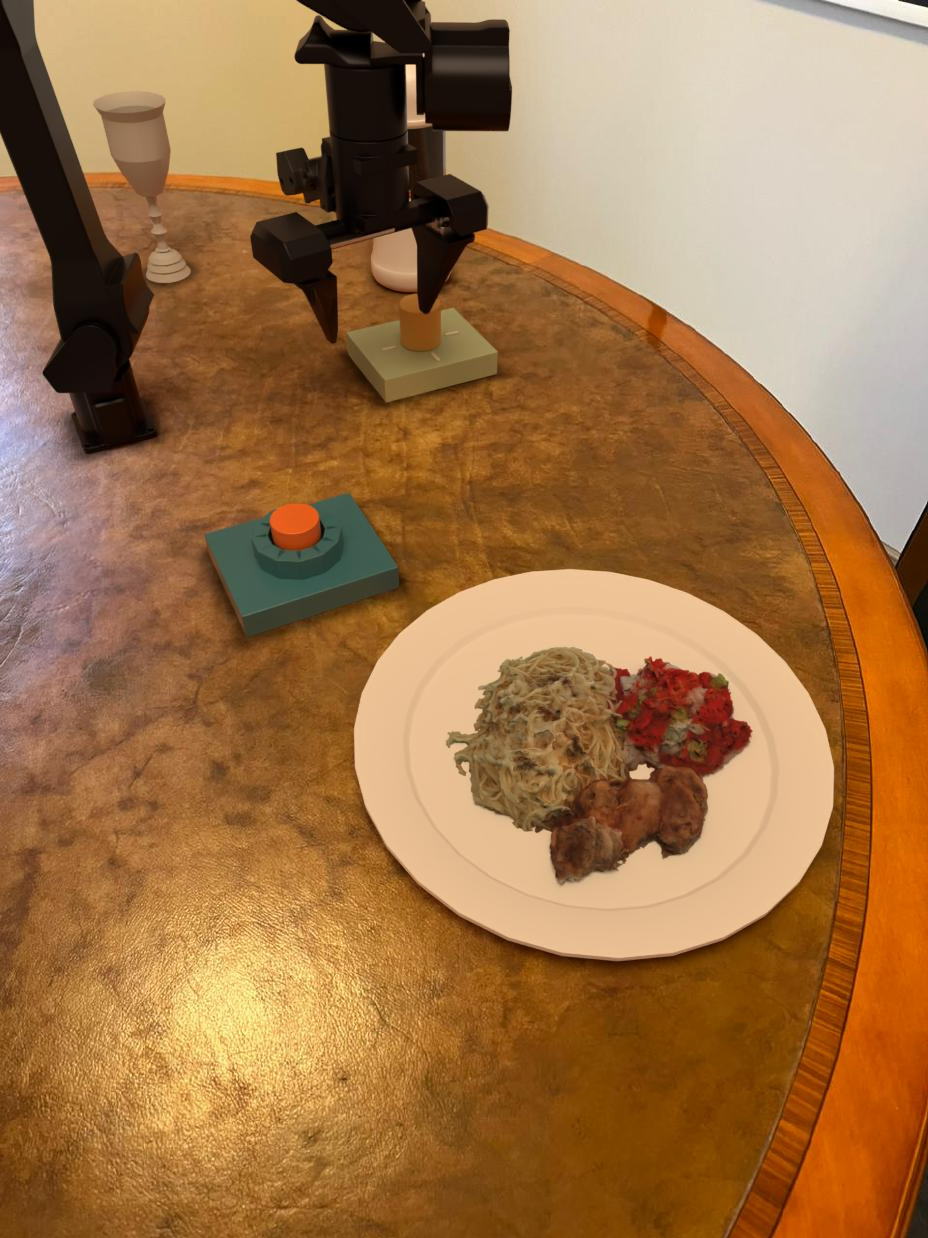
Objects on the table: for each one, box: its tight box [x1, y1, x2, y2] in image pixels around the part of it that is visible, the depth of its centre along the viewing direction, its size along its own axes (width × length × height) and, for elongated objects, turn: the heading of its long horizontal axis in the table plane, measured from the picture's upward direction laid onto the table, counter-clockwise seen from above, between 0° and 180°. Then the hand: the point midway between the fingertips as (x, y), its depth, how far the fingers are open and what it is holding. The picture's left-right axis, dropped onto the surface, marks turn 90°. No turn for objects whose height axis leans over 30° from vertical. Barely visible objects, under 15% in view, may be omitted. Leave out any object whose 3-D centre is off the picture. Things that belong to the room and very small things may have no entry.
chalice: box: [92, 90, 192, 284], centre depth 101 cm, size 7×7×18 cm
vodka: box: [370, 53, 453, 293], centre depth 96 cm, size 9×9×30 cm
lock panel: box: [345, 307, 499, 404], centre depth 93 cm, size 10×12×3 cm
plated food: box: [353, 568, 835, 962], centre depth 59 cm, size 30×30×3 cm
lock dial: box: [398, 293, 442, 351], centre depth 90 cm, size 4×4×4 cm
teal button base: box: [204, 492, 400, 638], centre depth 70 cm, size 10×12×4 cm
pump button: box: [270, 502, 321, 551], centre depth 69 cm, size 4×4×2 cm
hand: (378, 326), depth 79 cm, fingers open, 9 cm apart
